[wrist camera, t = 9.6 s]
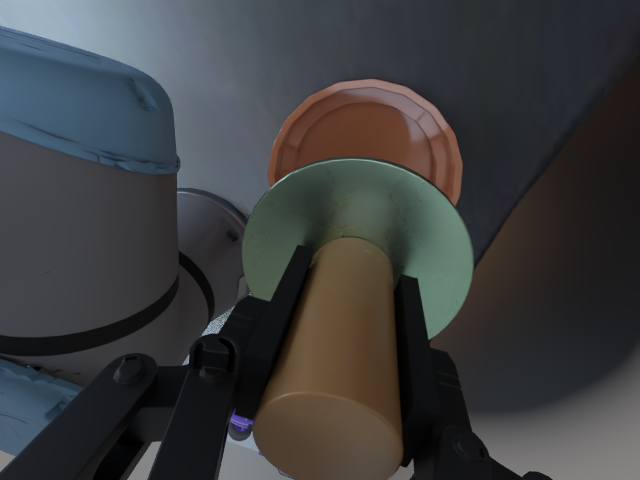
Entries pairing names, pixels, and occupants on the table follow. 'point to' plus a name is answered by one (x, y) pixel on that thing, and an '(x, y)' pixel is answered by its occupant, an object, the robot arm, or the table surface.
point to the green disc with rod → (349, 308)
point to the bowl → (370, 132)
